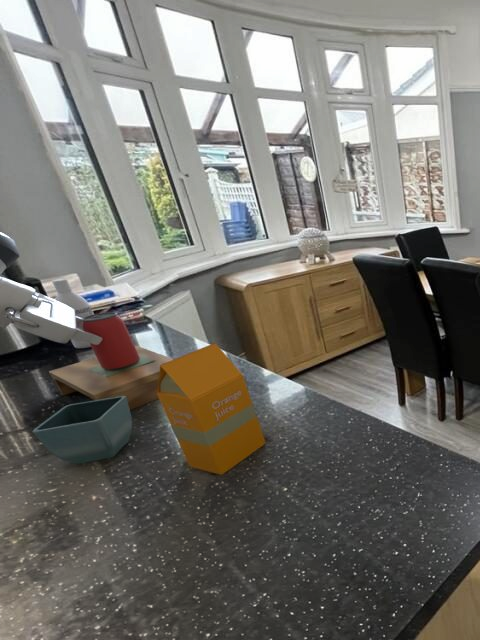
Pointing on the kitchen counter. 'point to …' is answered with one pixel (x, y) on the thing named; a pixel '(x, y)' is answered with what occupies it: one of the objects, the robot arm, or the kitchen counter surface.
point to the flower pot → (87, 430)
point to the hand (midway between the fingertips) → (99, 335)
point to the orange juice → (209, 409)
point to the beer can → (111, 341)
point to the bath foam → (73, 305)
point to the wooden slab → (114, 379)
